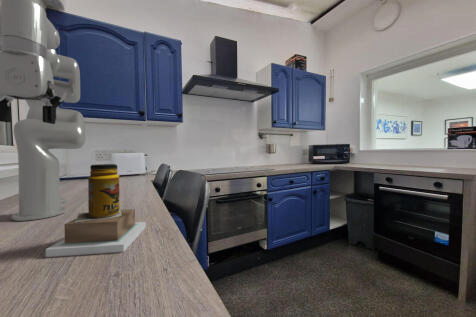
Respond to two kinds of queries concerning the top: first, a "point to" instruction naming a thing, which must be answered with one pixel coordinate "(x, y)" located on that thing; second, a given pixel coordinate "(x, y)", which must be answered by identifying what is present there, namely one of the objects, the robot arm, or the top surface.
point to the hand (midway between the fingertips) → (26, 122)
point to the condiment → (102, 193)
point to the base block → (100, 228)
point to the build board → (96, 244)
